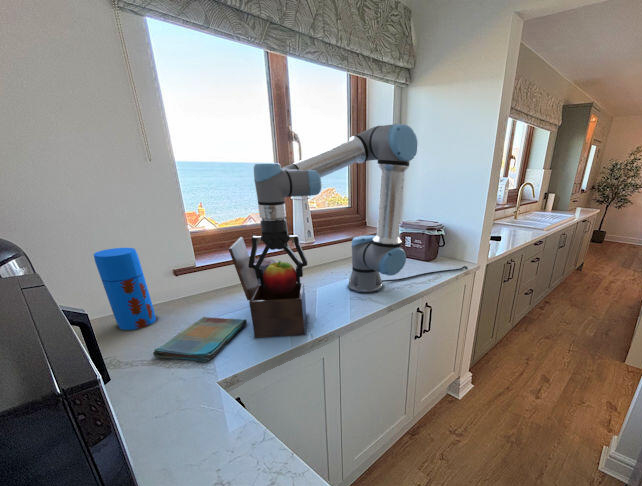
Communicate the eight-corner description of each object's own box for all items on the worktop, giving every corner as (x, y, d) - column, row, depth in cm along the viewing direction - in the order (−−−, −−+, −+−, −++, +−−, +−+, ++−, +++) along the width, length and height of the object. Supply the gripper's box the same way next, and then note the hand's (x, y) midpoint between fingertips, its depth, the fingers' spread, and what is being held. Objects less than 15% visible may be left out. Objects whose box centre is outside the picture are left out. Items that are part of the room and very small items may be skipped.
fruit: (284, 282, 113) (280, 255, 109) (305, 289, 108) (303, 260, 104) (257, 292, 105) (253, 262, 101) (279, 300, 100) (275, 269, 96)
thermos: (117, 321, 112) (92, 250, 102) (154, 312, 118) (134, 245, 108) (119, 333, 104) (93, 258, 94) (158, 324, 111) (137, 253, 100)
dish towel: (151, 358, 92) (149, 350, 91) (201, 320, 113) (200, 314, 112) (209, 362, 91) (207, 355, 90) (248, 323, 112) (247, 317, 111)
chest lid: (242, 236, 104) (239, 237, 104) (231, 248, 91) (228, 248, 91) (258, 283, 111) (256, 283, 111) (250, 300, 98) (247, 300, 98)
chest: (306, 315, 119) (303, 282, 114) (304, 334, 106) (301, 299, 101) (262, 317, 117) (257, 284, 112) (254, 338, 104) (249, 301, 98)
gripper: (229, 221, 92) (241, 293, 101) (312, 220, 95) (317, 289, 104) (235, 216, 98) (246, 284, 107) (312, 216, 102) (317, 281, 111)
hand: (281, 286), depth 106 cm, fingers closed on fruit, 10 cm apart
